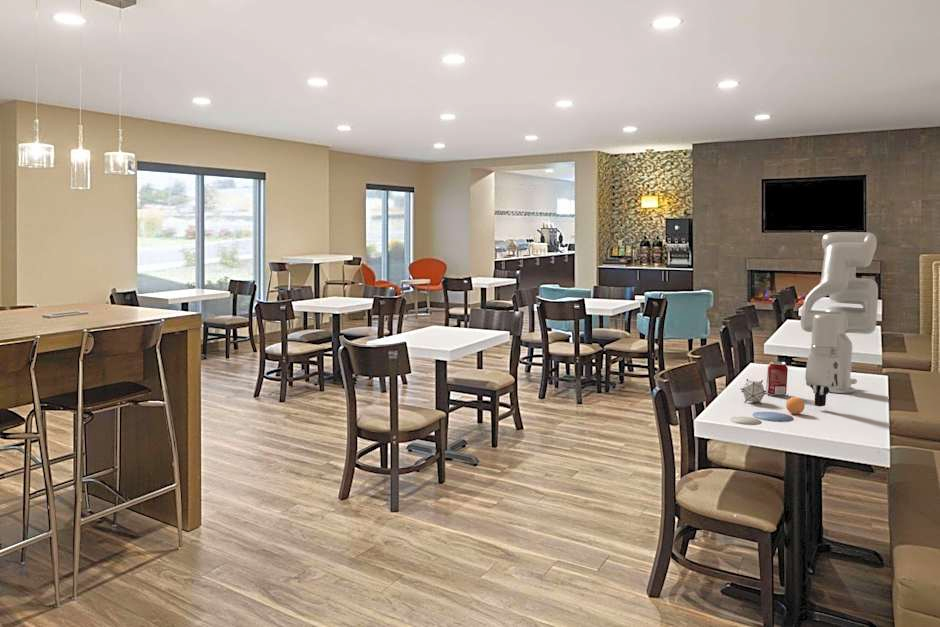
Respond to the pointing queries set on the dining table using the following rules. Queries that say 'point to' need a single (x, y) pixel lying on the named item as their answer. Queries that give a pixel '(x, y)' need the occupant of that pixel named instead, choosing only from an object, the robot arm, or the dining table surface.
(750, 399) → the game die
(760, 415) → the disc
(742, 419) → the far disc
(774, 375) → the soda can
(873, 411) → the dining table surface
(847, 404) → the dining table surface
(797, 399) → the ball
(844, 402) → the dining table surface
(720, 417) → the dining table surface
